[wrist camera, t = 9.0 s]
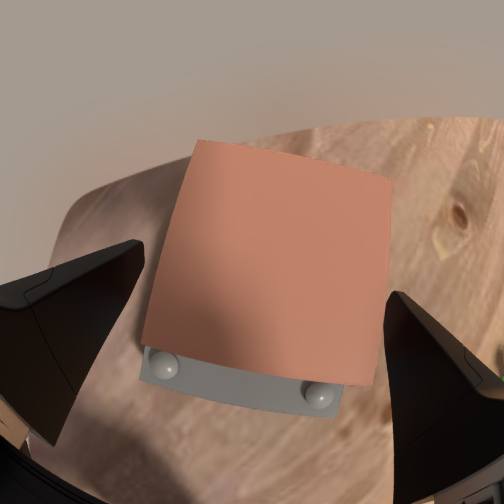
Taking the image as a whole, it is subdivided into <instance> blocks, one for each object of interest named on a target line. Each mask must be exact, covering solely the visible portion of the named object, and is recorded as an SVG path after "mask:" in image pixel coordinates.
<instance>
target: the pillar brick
mask: <svg viewBox="0 0 504 504" xmlns="http://www.w3.org/2000/svg"><path fill="white" fill-rule="evenodd" d="M390 246H391V179H388V178H385V177H382V176H378V175H375V174H371V173H368V172H364V171H361V170H357V169H353V168H349V167H346V166H342V165H338V164H334V163H329V162H325V161H321V160H317V159H312V158H308V157H303V156H298V155H293V154H288V153H283V152H278V151H273V150H267V149H261V148H255V147H249V146H243V145H236V144H229V143H222V142H214V141H206V140H198V141H197V144H196V146H195V149H194V151H193V154H192V157H191V160H190V163H189V165H188V168H187V171H186V174H185V177H184V180H183V183H182V186H181V189H180V192H179V195H178V198H177V201H176V204H175V208H174V211H173V214H172V217H171V221H170V224H169V227H168V231H167V234H166V238H165V241H164V245H163V248H162V252H161V256H160V260H159V263H158V267H157V271H156V275H155V279H154V283H153V287H152V291H151V296H150V300H149V304H148V309H147V313H146V318H145V323H144V327H143V332H142V337H141V343H140V344H142V345H145V346H148V347H152V348H155V349H158V350H162V351H165V352H169V353H172V354H176V355H180V356H183V357H187V358H191V359H195V360H199V361H203V362H207V363H212V364H216V365H220V366H225V367H230V368H235V369H239V370H245V371H250V372H255V373H261V374H267V375H273V376H279V377H285V378H292V379H300V380H307V381H316V382H325V383H335V384H347V385H361V386H372V383H373V378H374V373H375V369H376V363H377V358H378V353H379V347H380V341H381V335H382V329H383V322H384V314H385V306H386V298H387V288H388V277H389V264H390Z"/></svg>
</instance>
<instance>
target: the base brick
mask: <svg viewBox="0 0 504 504" xmlns="http://www.w3.org/2000/svg"><path fill="white" fill-rule="evenodd" d="M139 380H141V381H144V382H147V383H150V384H153V385H156V386H160V387H163V388H166V389H169V390H173V391H176V392H180V393H184V394H187V395H191V396H195V397H199V398H203V399H207V400H211V401H216V402H220V403H225V404H230V405H235V406H240V407H245V408H251V409H257V410H263V411H270V412H277V413H284V414H293V415H302V416H313V417H326V418H336V416H337V412H338V408H339V404H340V400H341V396H342V392H343V388H344V384H335V383H325V382H316V381H307V380H300V379H292V378H285V377H279V376H273V375H267V374H261V373H255V372H250V371H245V370H239V369H235V368H230V367H225V366H220V365H216V364H212V363H207V362H203V361H199V360H195V359H191V358H187V357H183V356H180V355H176V354H172V353H169V352H165V351H162V350H158V349H155V348H152V347H148V346H145V350H144V355H143V361H142V366H141V372H140V378H139Z"/></svg>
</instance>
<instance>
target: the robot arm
mask: <svg viewBox="0 0 504 504" xmlns="http://www.w3.org/2000/svg"><path fill="white" fill-rule="evenodd" d="M144 264H145V257H144V244H143V242H142V241H139V240H134V239H132V240H129V241H126V242H123V243H120V244H117V245H114V246H111V247H108V248H105V249H102V250H99V251H96V252H93V253H90V254H88V255H85V256H82V257H79V258H76V259H74V260H71V261H68V262H66V263H63V264H60V265H57V266H55V268H54V267H52V268H49V269H47V270H44V271H41V272H39V273H36V274H33V275H30V276H27V277H25V278H21V279H19V280H15V281H12V282H9V283H6V284H3V285H0V504H109V503H106V502H104V501H102V500H100V499H98V498H96V497H94V496H92V495H90V494H88V493H86V492H84V491H82V490H80V489H78V488H77V487H75V486H73V485H71V484H70V483H68V482H66V481H64V480H63V479H61V478H59V477H58V476H56V475H55V474H53V473H51V472H50V471H48V470H47V469H45V468H44V467H42V466H41V465H39V464H38V463H37V462H35V461H34V460H32V459H31V456H30V452H29V448H28V445H27V441H26V438H27V436H28V434H29V432H31V433H33V434H34V435H36V436H37V437H39V438H40V439H42V440H43V441H45V442H46V443H48V444H49V445H51V446H53V447H54V446H55V444H56V442H57V440H58V437H59V435H60V433H61V430H62V428H63V426H64V423H65V421H66V419H67V416H68V414H69V412H70V410H71V408H72V406H73V403H74V401H75V399H76V397H77V395H78V392H79V390H80V388H81V386H82V384H83V382H84V380H85V378H86V376H87V374H88V372H89V370H90V368H91V366H92V364H93V363H94V361H95V359H96V357H97V355H98V353H99V351H100V349H101V347H102V346H103V344H104V342H105V340H106V338H107V336H108V335H109V333H110V331H111V329H112V328H113V326H114V324H115V322H116V321H117V319H118V317H119V315H120V314H121V312H122V310H123V308H124V307H125V305H126V303H127V302H128V300H129V298H130V296H131V293H132V291H133V289H134V287H135V285H136V283H137V280H138V278H139V276H140V274H141V272H142V270H143V268H144ZM383 330H384V347H385V356H386V363H387V371H388V379H389V387H390V397H391V408H392V422H393V440H394V494H393V504H423V503H426V502H430V501H433V500H434V504H504V381H503V380H502V379H500V378H499V377H498V376H497V375H496V374H495V373H494V372H493V371H491V370H490V369H489V368H488V367H487V366H486V365H485V364H483V363H482V362H481V361H480V360H479V359H478V358H477V357H476V356H475V355H474V354H472V353H471V352H470V351H469V350H468V349H467V348H466V347H465V346H463V344H462V343H461V342H460V341H459V340H457V339H456V338H455V337H454V336H453V335H452V334H451V333H450V332H449V331H448V330H446V329H445V328H444V327H443V326H442V325H441V324H440V323H439V322H438V321H436V320H435V319H434V318H433V317H432V316H431V315H430V314H428V313H427V312H426V311H425V310H424V309H423V308H421V307H420V306H419V305H418V304H417V303H416V302H414V301H413V300H412V299H411V298H410V297H409V296H407V295H406V294H405V293H404V292H400V291H393V292H392V293H391V294H390V296H389V298H388V300H387V302H386V306H385V314H384V322H383Z"/></svg>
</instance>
